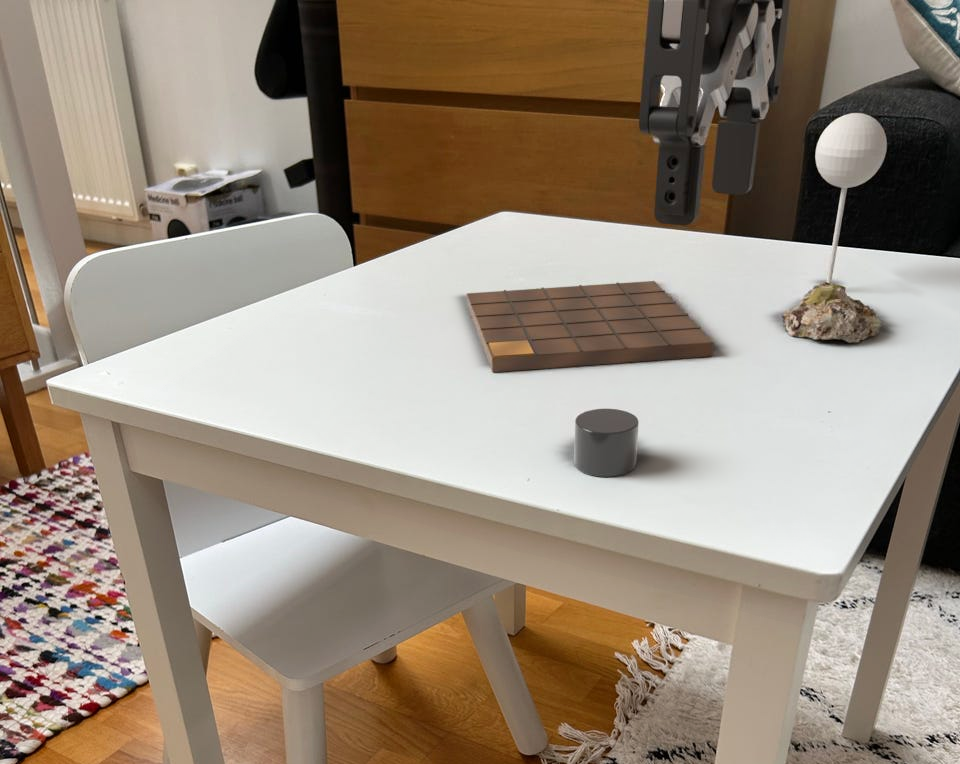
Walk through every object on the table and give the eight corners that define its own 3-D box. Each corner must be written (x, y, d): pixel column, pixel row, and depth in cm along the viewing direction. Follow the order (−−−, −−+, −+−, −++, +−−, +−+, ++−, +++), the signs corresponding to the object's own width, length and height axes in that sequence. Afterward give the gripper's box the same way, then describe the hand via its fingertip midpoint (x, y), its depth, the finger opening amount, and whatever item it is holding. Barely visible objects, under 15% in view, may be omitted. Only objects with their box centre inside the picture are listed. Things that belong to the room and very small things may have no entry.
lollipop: (859, 302, 91) (893, 119, 82) (792, 298, 92) (819, 118, 84) (860, 284, 95) (893, 108, 87) (797, 280, 97) (823, 107, 88)
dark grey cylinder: (627, 448, 66) (630, 405, 65) (642, 474, 63) (645, 430, 61) (568, 453, 66) (569, 410, 64) (580, 479, 63) (582, 435, 61)
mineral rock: (897, 321, 79) (800, 289, 79) (871, 372, 81) (777, 341, 82) (884, 287, 88) (797, 259, 88) (861, 334, 90) (776, 306, 90)
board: (653, 293, 95) (654, 279, 94) (712, 356, 80) (714, 340, 80) (467, 306, 93) (466, 292, 93) (492, 372, 79) (491, 356, 78)
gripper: (774, -190, 39) (726, 243, 48) (864, -167, 49) (809, 189, 58) (601, -175, 42) (586, 228, 51) (718, -157, 52) (688, 179, 61)
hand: (705, 207), depth 55 cm, fingers open, 8 cm apart
